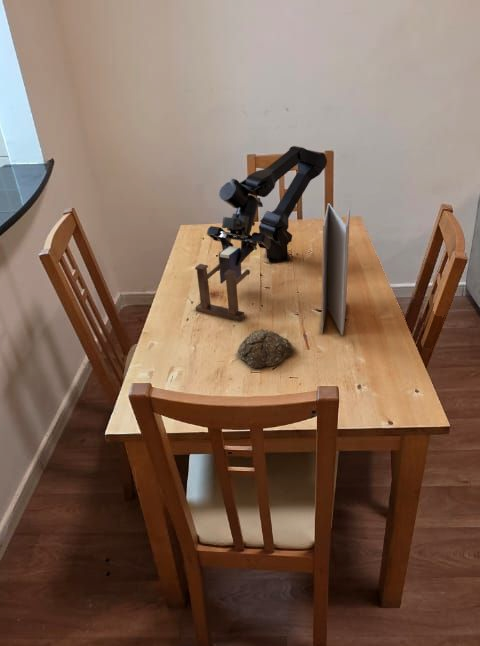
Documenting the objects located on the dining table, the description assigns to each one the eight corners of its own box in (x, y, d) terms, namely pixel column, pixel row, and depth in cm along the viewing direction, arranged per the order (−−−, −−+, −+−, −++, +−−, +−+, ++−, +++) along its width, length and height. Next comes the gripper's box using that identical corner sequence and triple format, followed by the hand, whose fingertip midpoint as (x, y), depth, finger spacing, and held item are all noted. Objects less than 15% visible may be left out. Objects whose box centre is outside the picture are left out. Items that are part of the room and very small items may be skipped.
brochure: (342, 335, 142) (347, 226, 127) (321, 333, 143) (322, 225, 128) (345, 306, 154) (350, 203, 139) (325, 305, 155) (327, 203, 140)
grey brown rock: (259, 333, 145) (258, 317, 143) (298, 349, 138) (298, 332, 136) (227, 357, 137) (225, 340, 134) (267, 375, 130) (266, 358, 127)
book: (230, 275, 167) (228, 245, 162) (241, 277, 165) (240, 247, 160) (220, 283, 162) (218, 253, 157) (231, 285, 160) (230, 255, 156)
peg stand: (216, 292, 165) (212, 250, 158) (258, 301, 159) (255, 258, 152) (196, 310, 157) (190, 267, 150) (239, 321, 151) (235, 276, 144)
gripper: (205, 200, 161) (190, 251, 158) (264, 207, 153) (248, 260, 150) (222, 215, 171) (207, 263, 168) (277, 222, 163) (263, 273, 160)
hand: (230, 264), depth 161 cm, fingers closed on book, 4 cm apart
